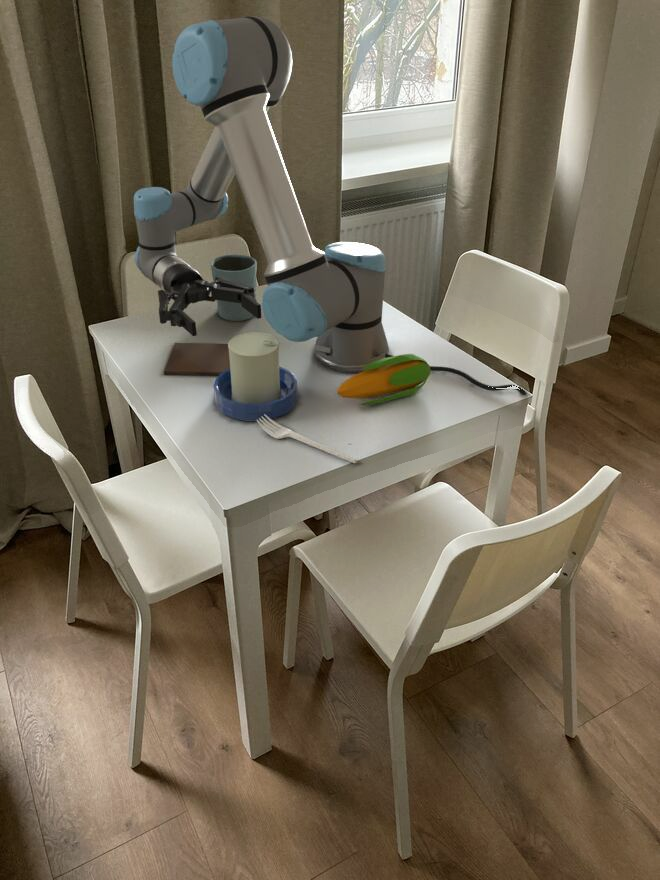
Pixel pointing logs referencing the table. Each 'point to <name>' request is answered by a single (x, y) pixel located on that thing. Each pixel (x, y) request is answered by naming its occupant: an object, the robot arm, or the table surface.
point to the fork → (298, 438)
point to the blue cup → (239, 272)
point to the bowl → (255, 410)
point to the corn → (387, 379)
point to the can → (254, 368)
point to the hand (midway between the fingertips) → (227, 320)
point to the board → (198, 359)
